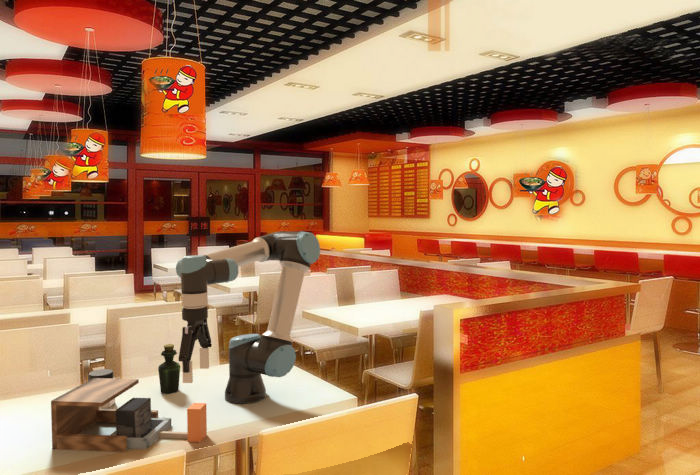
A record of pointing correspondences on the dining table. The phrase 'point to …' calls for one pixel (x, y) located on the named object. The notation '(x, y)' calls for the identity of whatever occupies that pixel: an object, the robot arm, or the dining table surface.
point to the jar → (103, 374)
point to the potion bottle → (169, 371)
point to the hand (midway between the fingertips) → (196, 375)
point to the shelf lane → (88, 415)
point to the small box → (134, 418)
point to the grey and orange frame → (194, 434)
